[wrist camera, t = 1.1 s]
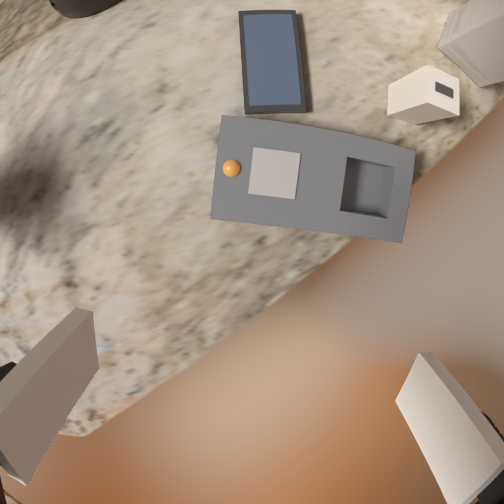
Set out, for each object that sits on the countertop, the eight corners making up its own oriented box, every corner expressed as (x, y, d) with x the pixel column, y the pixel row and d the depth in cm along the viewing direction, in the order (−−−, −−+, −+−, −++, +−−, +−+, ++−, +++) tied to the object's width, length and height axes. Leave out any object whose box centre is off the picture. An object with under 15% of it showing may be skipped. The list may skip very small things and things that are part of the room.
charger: (388, 85, 28) (427, 64, 20) (416, 94, 29) (459, 79, 20) (387, 115, 29) (428, 102, 21) (415, 124, 30) (460, 115, 21)
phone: (238, 15, 26) (238, 10, 25) (294, 14, 26) (295, 10, 25) (245, 114, 30) (244, 112, 29) (304, 112, 30) (306, 110, 29)
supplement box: (480, 89, 28) (554, 74, 13) (435, 47, 26) (505, 11, 12) (490, 51, 26) (554, 31, 11) (448, 12, 24) (508, -24, 10)
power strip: (225, 121, 30) (221, 114, 26) (399, 152, 31) (416, 150, 27) (215, 213, 32) (210, 219, 28) (386, 235, 33) (402, 243, 29)
